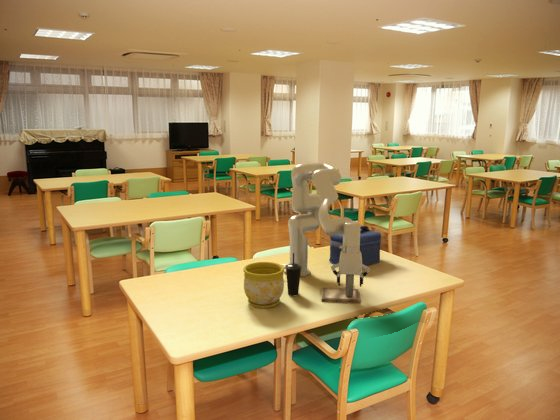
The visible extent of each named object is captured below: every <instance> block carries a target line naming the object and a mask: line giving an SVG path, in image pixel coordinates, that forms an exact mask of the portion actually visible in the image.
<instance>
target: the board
mask: <svg viewBox="0 0 560 420" xmlns="http://www.w3.org/2000/svg"><path fill="white" fill-rule="evenodd" d="M321 289H322V290H321V302H326V303H327V302H328V303H343V304H345V303H346V304H347V303H348V304H360V303H361V301H360V293H359V289H357V288H354V289H353V297H352V298H348V297H346V295H345V288H342V287H341V288H340V287H339V288H338V287H336V288H335V287H322V288H321Z"/></svg>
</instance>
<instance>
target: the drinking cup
mask: <svg viewBox="0 0 560 420" xmlns="http://www.w3.org/2000/svg"><path fill="white" fill-rule="evenodd" d="M287 264H288V265H287ZM287 264H285V265H286V266H285V268H286V269H285V273H286V275H285V276H286V286H287V287H286V288H287V294H288V296H290V295H291V296H290V297H296V296H298V295H299V292H300V281H301V276H300V273H301V268H302V266H301V265H299V264H296V263H294V253H293V263H291V264H289V263H287Z"/></svg>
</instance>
